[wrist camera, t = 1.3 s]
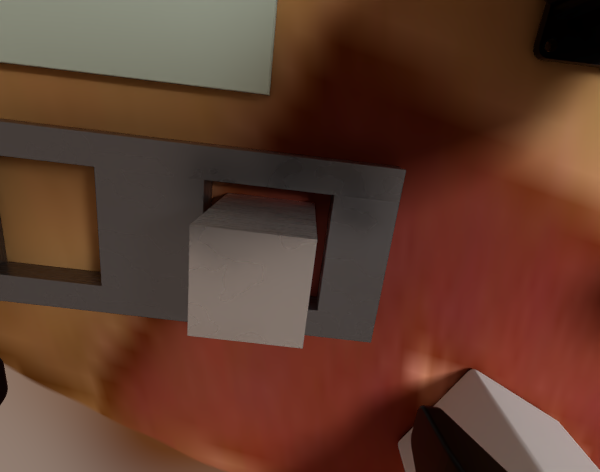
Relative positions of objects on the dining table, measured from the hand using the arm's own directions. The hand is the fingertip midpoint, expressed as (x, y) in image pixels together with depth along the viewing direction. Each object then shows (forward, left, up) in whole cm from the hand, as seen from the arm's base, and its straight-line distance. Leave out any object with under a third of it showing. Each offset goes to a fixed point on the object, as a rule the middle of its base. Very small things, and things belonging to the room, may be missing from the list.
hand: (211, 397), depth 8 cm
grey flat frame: (+5, 0, -11) cm, 12 cm away
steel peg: (0, 0, -11) cm, 11 cm away
